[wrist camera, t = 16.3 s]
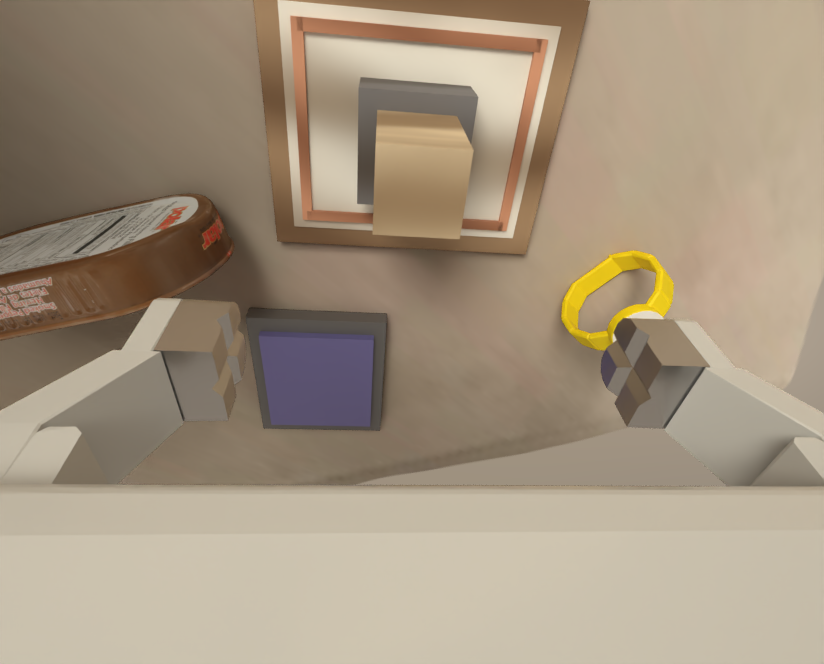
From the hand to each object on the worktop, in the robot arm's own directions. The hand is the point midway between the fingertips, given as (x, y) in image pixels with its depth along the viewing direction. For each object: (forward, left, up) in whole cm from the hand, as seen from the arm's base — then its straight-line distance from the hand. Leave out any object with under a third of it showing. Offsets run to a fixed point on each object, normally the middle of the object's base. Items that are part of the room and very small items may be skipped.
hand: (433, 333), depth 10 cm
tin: (+6, -16, -17) cm, 24 cm away
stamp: (0, 0, -16) cm, 16 cm away
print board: (0, 0, -17) cm, 17 cm away
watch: (+8, +12, -17) cm, 22 cm away
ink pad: (+16, -5, -17) cm, 24 cm away
